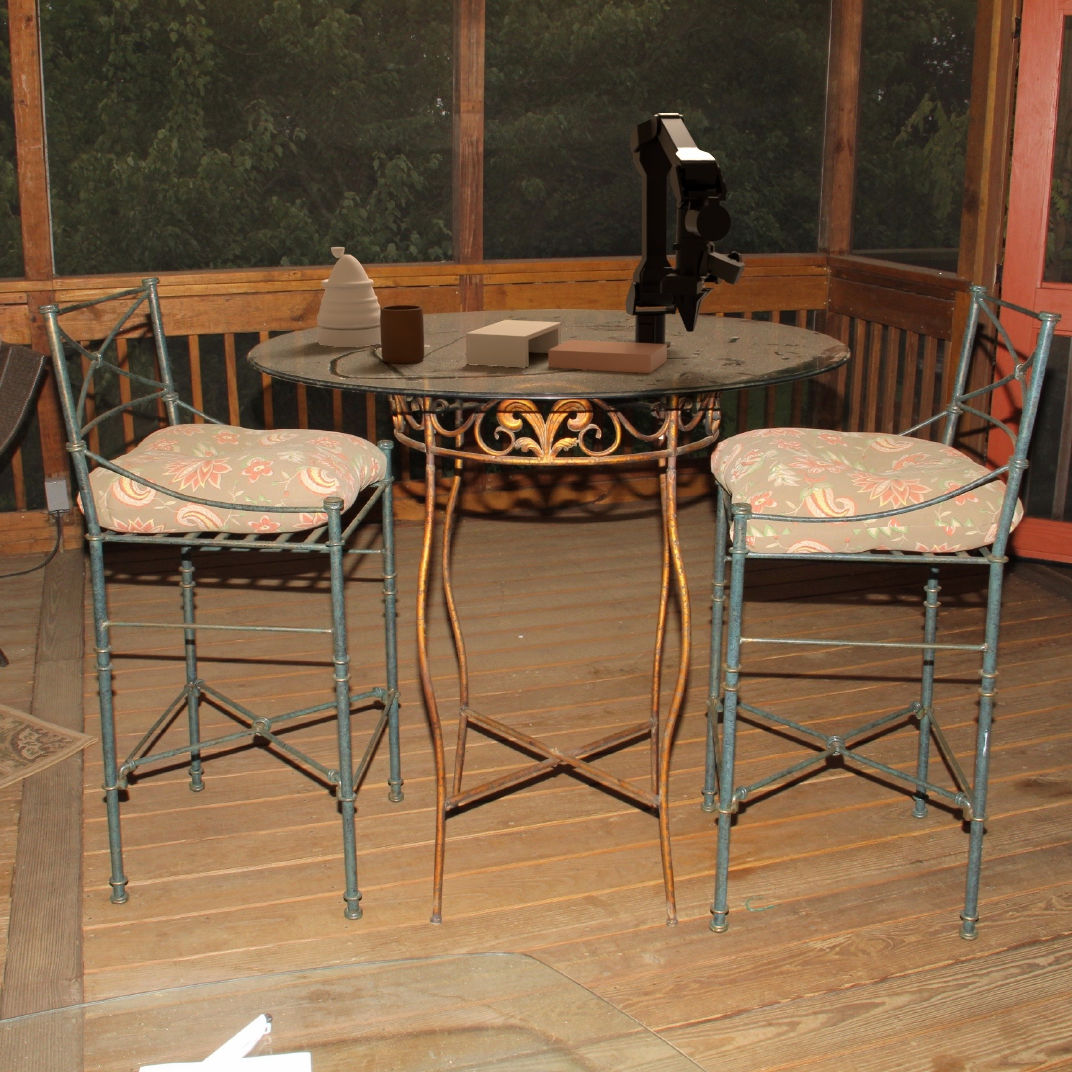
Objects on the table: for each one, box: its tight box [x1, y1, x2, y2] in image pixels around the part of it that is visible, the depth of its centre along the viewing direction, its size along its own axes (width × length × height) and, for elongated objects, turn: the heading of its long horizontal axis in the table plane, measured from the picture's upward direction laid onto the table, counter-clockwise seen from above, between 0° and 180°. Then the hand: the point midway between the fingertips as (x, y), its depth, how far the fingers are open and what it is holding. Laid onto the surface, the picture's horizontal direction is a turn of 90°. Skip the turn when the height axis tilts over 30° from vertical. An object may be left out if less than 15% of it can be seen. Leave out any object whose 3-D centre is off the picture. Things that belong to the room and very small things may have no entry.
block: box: [547, 339, 668, 374], centre depth 221 cm, size 12×18×4 cm, turn 71°
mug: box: [380, 304, 425, 365], centre depth 226 cm, size 12×8×9 cm, turn 10°
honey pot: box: [316, 246, 381, 348], centre depth 243 cm, size 13×13×18 cm
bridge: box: [465, 319, 562, 368], centre depth 226 cm, size 18×11×6 cm, turn 159°
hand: (690, 331), depth 214 cm, fingers closed
